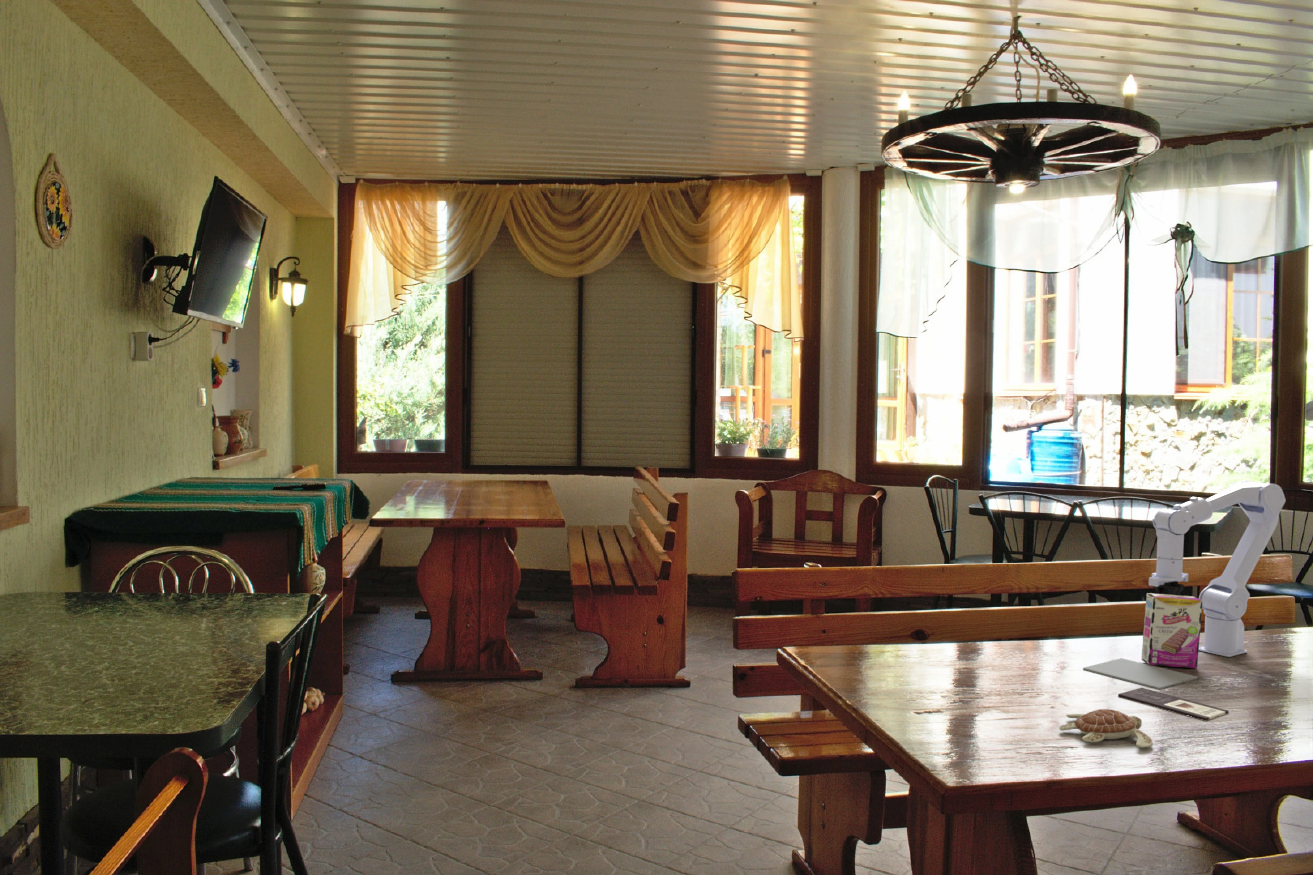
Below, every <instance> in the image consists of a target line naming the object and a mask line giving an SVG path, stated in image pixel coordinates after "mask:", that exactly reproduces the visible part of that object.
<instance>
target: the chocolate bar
mask: <svg viewBox="0 0 1313 875" xmlns="http://www.w3.org/2000/svg"><path fill="white" fill-rule="evenodd" d="M1117 697H1119V698H1122V699H1126V700H1128V701H1129V700H1130V701H1133V702H1136V703H1139V702H1140V704H1144V705H1146V706H1150V707H1151V706H1152V707H1154V706H1155V707H1154V708H1157V707H1158V709H1161V708H1162V709H1161V710H1164V711H1168V710H1170V711H1169V712H1172V711H1173V712H1172V713H1175V712H1176V713H1177V714H1180V715H1182V716H1186V715H1189V716H1188V717H1190V716H1192V717H1191V718H1193V717H1194V719H1197V720H1200V719H1203V720H1202V721H1204V720H1207V721H1209V720H1208V719H1210V720H1213V719H1215V717H1216V718H1219V717H1221V715H1222V716H1223V715H1227V714H1229V710H1228V709H1223V708H1220V707H1216V706H1212V705H1210V704H1209V705H1208V704H1205V703H1201V702H1197V701H1195V700H1194V701H1193V700H1190V699H1188V698H1187V699H1186V698H1182V697H1179V696H1175V695H1171V694H1168V693H1164V692H1160V691H1156V690H1151V689H1148V688H1145V687H1139V688H1135V689H1131V690H1128V691H1124V692H1121V693H1118V696H1117ZM1176 713H1175V714H1176ZM1218 716H1219V717H1218Z"/></svg>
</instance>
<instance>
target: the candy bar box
mask: <svg viewBox="0 0 1313 875" xmlns="http://www.w3.org/2000/svg"><path fill="white" fill-rule="evenodd" d="M1202 611H1203V609H1202V600H1201V599H1199V597H1195V596H1192V595H1191V596H1190V595H1181V594H1180V595H1166V594H1157V593H1152V592H1150V593H1148V592H1146V597H1145V608H1144V619H1143V620H1144V622H1143V633H1142V634H1143V635H1142V636H1143V637H1142V648H1141V649H1142V650H1141V661H1142V662H1144V664H1147V665H1151V666H1158V667H1159V666H1160V667H1161V666H1162V667H1171V668H1173V667H1175V668H1186V669H1187V668H1190V669H1198V663H1199V647H1200V638H1201V623H1202Z"/></svg>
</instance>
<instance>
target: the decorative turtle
mask: <svg viewBox="0 0 1313 875" xmlns="http://www.w3.org/2000/svg"><path fill="white" fill-rule="evenodd" d="M1065 716H1066V718H1069V719H1075V720H1074V721H1073V722H1071V723H1066V724H1062V725H1060V726H1059V727H1058V729H1059V730H1060V731H1069V730H1079V731H1080V732H1081V734H1082V735H1084V736H1082V740H1083V741H1085V742H1087V743H1100V742H1101V741H1103V740H1119V739H1123V738H1127V737H1130V736H1132V735H1133V736H1135V738H1136V739H1137V741H1136V744H1135V745H1136V747H1137V748H1140V749H1142V748H1150V747H1152V746H1153V745H1154V742H1153V740H1152V738H1151V737H1150V736H1149V735H1148V734H1146V733H1145V732H1143V731H1141V730H1140V729H1141V727H1142V722H1143V721H1142V719H1141V717H1140V718H1139V717H1138V716H1135V715H1128V714H1125V713H1124V712H1121V711H1118V710H1114V709H1108V708H1105V709H1096V710H1092V711H1089V712H1087V713H1085V714H1084V713H1069V714H1065Z"/></svg>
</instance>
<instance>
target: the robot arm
mask: <svg viewBox="0 0 1313 875" xmlns="http://www.w3.org/2000/svg"><path fill="white" fill-rule="evenodd" d="M1286 500H1287V499H1286V497H1285V494H1284V491H1283V489H1282V487H1281V486H1280V485H1278V484H1276V483H1265V482H1256V481H1251V480H1242V481H1240V482H1236V483H1234V484H1232V486H1230V487H1229V488H1227V489H1225V490H1222V491H1220V492H1218V493H1216V494H1214V495H1212V496H1210V497H1208V498H1204V497H1196V496H1192V497H1190V498H1189V501H1188V500H1187V501H1186V502H1184V503H1181V504H1177V503H1176V504H1174V505H1173V507H1172V508H1162V509H1160V510H1158V511H1157V512H1156V514H1155V515H1154V518H1153V519H1152V525H1153V527H1154V528H1155V533H1156V537H1157V544H1156V567H1155V568H1156V569H1155V572H1152V573H1151V576H1150V577H1148V586H1149V587H1151V586H1152V587H1153V588H1154V590H1155V592H1156V594H1166V595H1180V596H1181V593H1182V592H1183V590H1184V589H1185V585H1184V584H1182V583H1180V582H1187V583H1188V582H1189V573H1185V572H1183V565H1184V544H1185V543H1184V542H1185V541H1184V540H1185V534H1186V533H1187V532H1188V531H1189V530H1190V528H1191V527H1192V526H1195V525H1198V524H1199V523H1200V524H1201V523H1203V522H1205V521H1207V520H1209V519H1210V518H1212V516H1213V513H1214V512H1217V511H1219V510H1222V509H1225V508H1229V507H1231V506H1234V505H1237V504H1238V505H1239V507H1240V508H1241V509H1242V511H1243V512H1244V514H1245V515H1246V516H1247V517H1248V519H1249V524H1248V525H1247V526H1246V529H1245V531H1244V532H1243V534H1242V536H1241V538H1240V540H1239V541H1238V544H1237V546H1236V547H1235V549H1234V552H1233V553H1232V555H1231V557H1230V558H1229V561H1228V563H1227V565H1226V567H1225V568H1224V570H1223V572H1222V574H1221V575H1220V576H1218V577H1216V578H1213V579H1212V580H1210V581H1209V583H1208V584H1207V586H1206V587H1205V588H1203V589H1202V590H1201V592H1200V593H1199V596H1198V599H1201V600H1202V610H1203V614H1204V615H1205V618H1204V641H1203V646H1199V651H1200V652H1203V653H1209V654H1214V655H1217V656H1222V657H1228V658H1231V657H1235V656H1238V655H1242V654H1245V653H1248V650H1247V649H1244V647H1245V646H1244V642H1245V641H1244V640H1245V625H1244V622H1243V621H1242V618H1241V617H1243V615H1245V613H1246V612H1247V608H1248V600H1249V599H1250V596H1251V594H1250V592H1249V591H1248V589H1247V587H1246V584H1248V583H1247V582H1248V581H1249V579H1250V577H1251V575H1252V573H1253V571H1254V570H1255V567H1256V566H1257V563H1259V560H1260V558H1261V556H1262V554H1263V553H1264V551H1265V548H1266V547H1267V545H1268V543H1269V541H1270V539H1271V537H1272V536H1273V534H1274V532H1275V530H1276V528H1277V526H1278V523H1279V517H1280V512H1281V511H1282V509H1283V507H1284V506H1285V503H1286V502H1287V501H1286ZM1199 651H1198V652H1199Z"/></svg>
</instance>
